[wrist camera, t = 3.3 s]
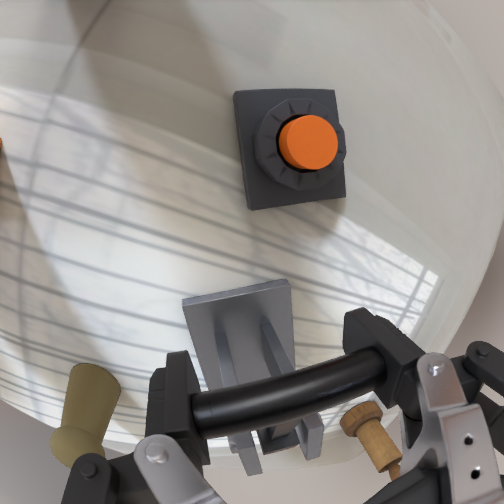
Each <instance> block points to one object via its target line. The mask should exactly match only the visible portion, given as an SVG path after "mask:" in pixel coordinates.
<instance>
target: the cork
mask: <svg viewBox="0 0 504 504" xmlns="http://www.w3.org/2000/svg"><path fill="white" fill-rule="evenodd" d="M120 392H121V389H120V385H119V383H118V382H117V380H116V379H115V378H114V377H113V376H112V375H111V374H110V373H109V372H107V371H106V370H104V369H103V368H101V367H98V366H96V365H92V364H87V363H86V364H78V365H76V366H74V367H73V369H72V370H71V373H70V378H69V382H68V387H67V392H66V397H65V402H64V408H63V414H62V420H61V427H59V428H57V429H56V430H55V431H54V433H53V434H52V436H51V439H50V446H51V450H52V453H53V455H54V456H55V457H56V458H57V459H58V460H59V461H60V462H61V463H62V464H64V465H65V466H67V467H69V468H71V469H72V466H73V463H74V462H75V460H76V459H77V458H78V457H80V456H81V455H83V454H86V453H97V454H100V455H102V456H103V457H105V452H104V449H103V447H102V445H101V444H102V441H103V438H104V435H105V432H106V430H107V427H108V424H109V422H110V419H111V416H112V414H113V411H114V408H115V406H116V403H117V401H118V398H119V396H120Z"/></svg>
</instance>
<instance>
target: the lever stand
mask: <svg viewBox="0 0 504 504" xmlns="http://www.w3.org/2000/svg"><path fill="white" fill-rule="evenodd" d="M182 308H183V311H184V315H185V318H186V322H187V325H188V329H189V332H190V335H191V338H192V342H193V345H194V348H195V351H196V354H197V357H198V360H199V363H200V366H201V369H202V372H203V375H204V378H205V381H206V384H207V387H208V389H209V390H215V389H220V388H225V387H230V386H235V385H240V384H245V383H249V382H254V381H258V380H262V379H266V378H270V377H274V376H278V375H281V374H285V373H289V372H292V371H295V354H294V335H293V318H292V303H291V289H290V283H289V282H288V281H287V280H286V279H281V280H276V281H272V282H267V283H262V284H258V285H253V286H248V287H243V288H238V289H233V290H229V291H224V292H218V293H213V294H208V295H203V296H198V297H193V298H187V299H183V300H182ZM295 429H296V432H297V435H298V438H299V441H300V444H299V445H300V447H301V449H302V452H303V454H304V456H305V459H306V460H307V461H308V460H311V459H314V458H317V457H319V456H320V453H321V446H322V439H323V432H324V424H323V422H322V419H321V416H320V415H319V413H315V414H312V415H309V416H305V417H303V419H302V420H301V421H300V422H299V424H298V425H297V426H296V427H295ZM227 437H228V442H229V446H230V449H231V452H232V453H233V454H234V453H238V454H239V456H240V459H241V461H242V463H243V466H244V468H245V470H246V473H247V475H248V476H251V475H256V474H261V473H262V469H261V465H260V462H259V459H258V455H257V452H256V448H255V444H254V441H253V438H252V434H251V431H250V432H245V433H240V434H235V435H230V436H227Z"/></svg>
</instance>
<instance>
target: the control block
mask: <svg viewBox="0 0 504 504" xmlns="http://www.w3.org/2000/svg"><path fill="white" fill-rule="evenodd" d="M233 101H234V108H235V116H236V123H237V131H238V138H239V145H240V153H241V160H242V168H243V175H244V183H245V190H246V198H247V205H248V209H250V210H251V211H253V210H259V209H265V208H271V207H278V206H284V205H291V204H298V203H305V202H312V201H319V200H327V199H334V198H342V197H346V190H345V176H344V163H343V161H344V158H345V156H346V145H345V135H344V130H343V128H342V127H341V125H340V124H339V118H338V111H337V104H336V97H335V91H334V90H327V89H259V90H243V91H235V92H234V94H233ZM306 115H314V116H318V117H321V118H323V119H324V120H326V121H327V122H328V123H329V124H330V125H331V126H332V127H333V129H334V131H335V133H336V135H337V140H338V149H337V153H336V155H335V158H334V159H333V160H332V162H331V163H330V164H329V165H327V166H326V167H324V168H321V169H301V168H297V167H294V166H292V165H291V164H289V163H288V162H287V161H286V160H285V159H284V157H283V156H282V154H281V151H280V148H279V136H280V133H281V131H282V129H283V128H284V126H285V125H286V124H287V123H289V122H290V121H292V120H295V119H298V118H300V117H303V116H306Z"/></svg>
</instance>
